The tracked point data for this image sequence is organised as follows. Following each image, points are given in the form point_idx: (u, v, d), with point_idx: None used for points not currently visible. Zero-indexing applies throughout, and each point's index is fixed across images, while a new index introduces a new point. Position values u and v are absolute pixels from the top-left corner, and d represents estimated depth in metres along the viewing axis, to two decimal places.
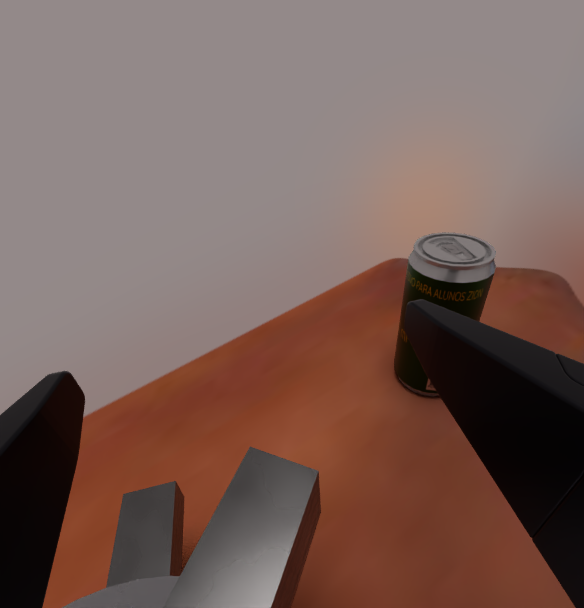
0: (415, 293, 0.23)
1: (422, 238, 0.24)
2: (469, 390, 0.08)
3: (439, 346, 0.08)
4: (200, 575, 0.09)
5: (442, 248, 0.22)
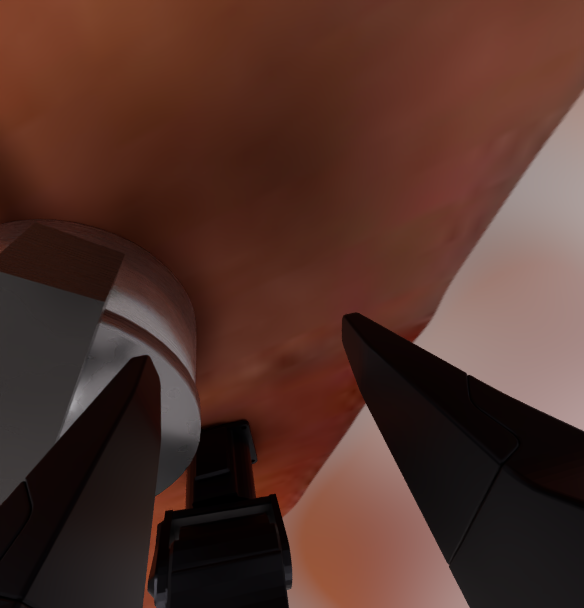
0: None
1: None
2: (390, 409, 0.07)
3: (366, 362, 0.08)
4: None
5: None
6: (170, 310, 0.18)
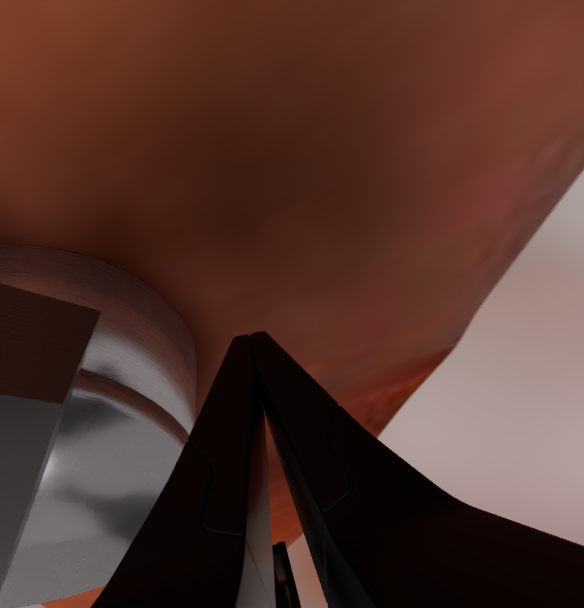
0: None
1: None
2: (277, 437, 0.07)
3: (260, 386, 0.08)
4: None
5: None
6: (165, 352, 0.16)
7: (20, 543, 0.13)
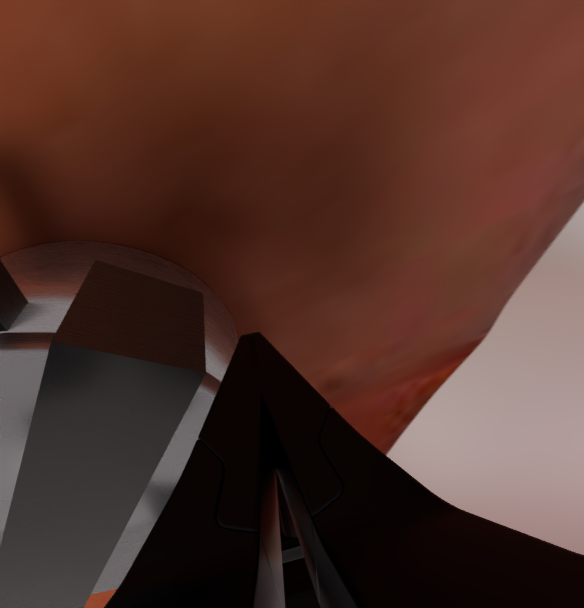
0: None
1: None
2: (270, 439, 0.07)
3: None
4: (46, 479, 0.07)
5: None
6: (224, 343, 0.16)
7: None
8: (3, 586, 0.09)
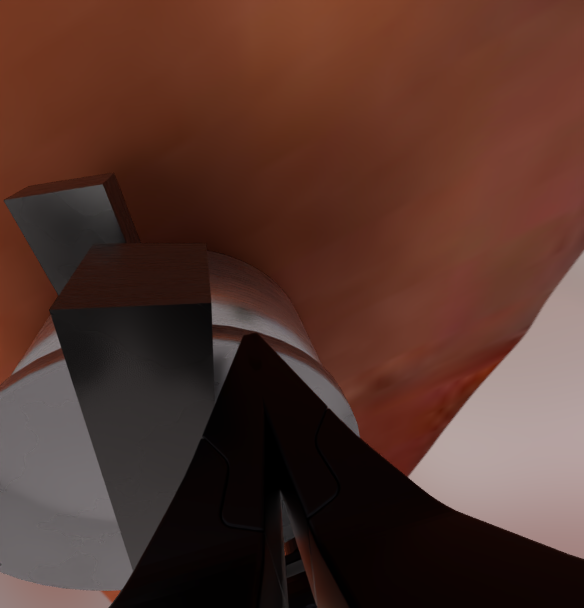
0: None
1: None
2: None
3: None
4: (121, 452, 0.08)
5: None
6: (308, 338, 0.17)
7: None
8: None
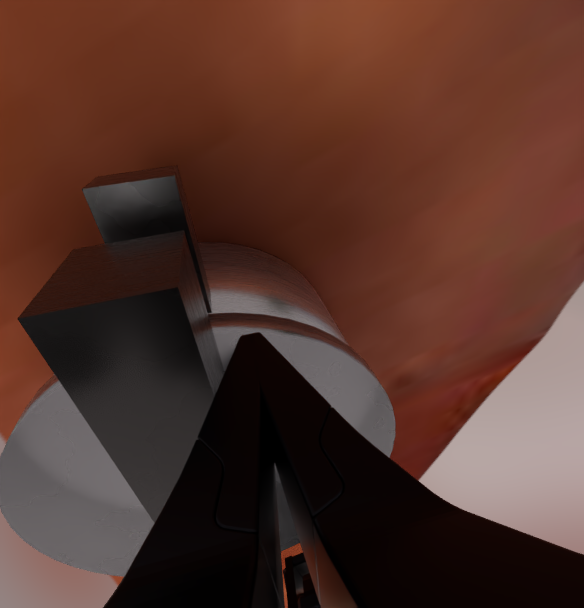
0: None
1: None
2: (271, 439, 0.07)
3: None
4: (132, 449, 0.08)
5: None
6: None
7: None
8: None
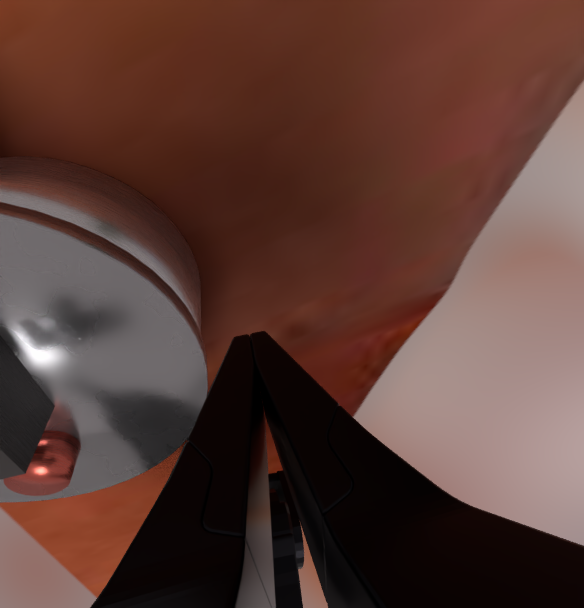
0: None
1: None
2: (277, 437, 0.07)
3: (260, 386, 0.08)
4: None
5: None
6: (174, 258, 0.17)
7: (57, 407, 0.14)
8: None
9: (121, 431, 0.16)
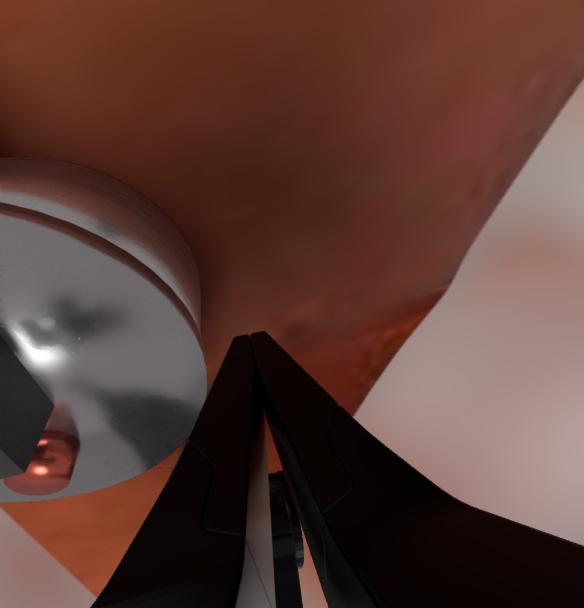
0: None
1: None
2: (277, 437, 0.07)
3: (260, 386, 0.08)
4: None
5: None
6: (173, 258, 0.17)
7: (57, 407, 0.14)
8: None
9: (121, 431, 0.16)
